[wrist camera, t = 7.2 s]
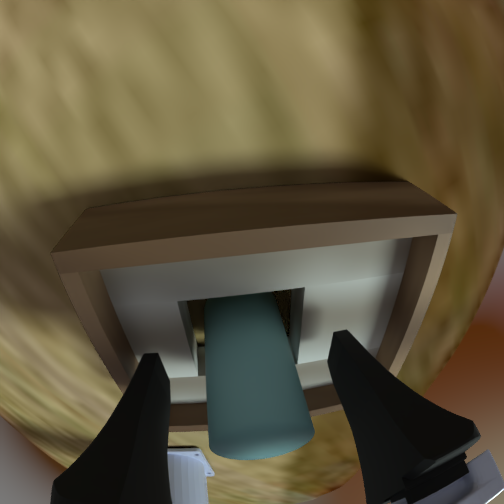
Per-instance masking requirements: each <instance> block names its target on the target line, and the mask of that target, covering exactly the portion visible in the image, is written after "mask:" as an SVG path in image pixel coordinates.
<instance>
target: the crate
mask: <svg viewBox="0 0 504 504" xmlns="http://www.w3.org/2000/svg"><path fill="white" fill-rule="evenodd" d="M456 217H457V213H455V212H454V211H453V210H451V209H450V208H448V207H447V206H445V205H444V204H442V203H441V202H440V201H438V200H437V199H435V198H434V197H432V196H431V195H429V194H427V193H426V192H424V191H423V190H421V189H420V188H418V187H417V186H415V185H413V184H412V183H410V182H344V183H319V184H299V185H283V186H269V187H256V188H244V189H232V190H222V191H212V192H202V193H193V194H185V195H176V196H168V197H161V198H153V199H146V200H139V201H132V202H125V203H119V204H113V205H106V206H100V207H94V208H89V209H86V210H85V211H84V212H83V213H82V214H81V216H80V217H79V218H78V219H77V220H76V222H75V223H74V224H73V225H72V226H71V228H70V229H69V230H68V231H67V233H66V234H65V235H64V236H63V238H62V239H61V240H60V241H59V243H58V244H57V245H56V247H55V248H54V249H53V251H52V252H51V256H52V258H53V261H54V263H55V266H56V268H57V271H58V273H59V276H60V278H61V280H62V283H63V285H64V287H65V290H66V292H67V294H68V296H69V298H70V300H71V303H72V305H73V307H74V309H75V311H76V313H77V315H78V317H79V319H80V321H81V323H82V325H83V327H84V329H85V331H86V333H87V334H88V336H89V338H90V340H91V342H92V344H93V345H94V347H95V349H96V351H97V353H98V354H99V356H100V358H101V359H102V361H103V363H104V365H105V366H106V368H107V369H108V371H109V373H110V374H111V376H112V378H113V379H114V381H115V382H116V384H117V385H118V387H119V388H120V390H121V391H122V393H123V394H124V392H125V390H126V388H127V387H128V385H129V383H130V381H131V379H132V377H133V375H134V373H135V371H136V368H137V366H138V364H139V362H140V360H141V357H142V355H143V354H144V353H159V356H160V358H161V361H162V363H163V365H164V368H165V370H166V373H167V375H168V377H169V379H170V390H171V407H170V420H169V432H190V431H208V417H207V397H206V372H205V346H203V347H198V346H197V342H196V338H195V334H194V330H193V326H192V322H191V318H190V313H189V309H188V305H187V300H197V299H207V298H217V297H226V296H236V295H245V294H254V293H262V292H271V291H279V290H287V289H292V292H291V312H290V329H289V336H288V337H287V338H288V342H289V345H290V348H291V352H292V355H293V359H294V362H295V365H296V369H297V372H298V376H299V379H300V382H301V386H302V389H303V393H304V396H305V400H306V403H307V407H308V410H309V413H310V417H312V416H317V415H321V414H326V413H330V412H334V411H338V410H342V409H343V407H342V404H341V402H340V399H339V397H338V395H337V392H336V390H335V387H334V385H333V382H332V379H331V375H330V371H329V368H328V364H327V360H328V355H329V350H330V346H331V341H332V336H333V332H335V331H341V330H346V329H347V330H348V331H349V332H350V333H351V334H352V335H353V336H354V337H355V338H356V339H357V340H358V341H359V342H360V343H361V344H362V345H363V347H364V348H365V349H366V350H367V351H368V352H369V353H370V354H371V355H372V356H373V357H374V358H375V359H376V360H378V361H379V362H380V363H381V364H382V365H383V366H384V367H385V368H386V369H387V370H388V371H389V372H390V373H392V374H393V375H394V376H395V377H396V376H397V374H398V372H399V370H400V368H401V366H402V364H403V362H404V360H405V358H406V356H407V354H408V352H409V350H410V348H411V346H412V344H413V341H414V339H415V337H416V335H417V333H418V330H419V328H420V326H421V323H422V321H423V318H424V316H425V314H426V311H427V309H428V306H429V303H430V301H431V298H432V295H433V293H434V290H435V287H436V284H437V282H438V279H439V276H440V273H441V270H442V267H443V264H444V260H445V257H446V254H447V251H448V247H449V244H450V240H451V237H452V233H453V229H454V225H455V221H456Z"/></svg>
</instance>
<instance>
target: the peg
mask: <svg viewBox="0 0 504 504" xmlns="http://www.w3.org/2000/svg"><path fill="white" fill-rule="evenodd" d="M204 333H205V372H206V397H207V417H208V434H209V447H210V449H211V451H212V452H213V453H215V454H217V455H219V456H222V457H225V458H230V459H237V460H255V459H265V458H270V457H275V456H279V455H283V454H286V453H288V452H291V451H294V450H296V449H298V448H300V447H302V446H303V445H305V444H306V443H307V442H309V441H310V440H311V439H312V437H313V436H314V433H315V431H314V427H313V424H312V420H311V417H310V413H309V410H308V407H307V403H306V400H305V396H304V393H303V389H302V386H301V382H300V379H299V376H298V372H297V369H296V365H295V362H294V359H293V355H292V352H291V348H290V345H289V342H288V338H287V335H286V332H285V328H284V325H283V322H282V318H281V315H280V311H279V308H278V305H277V301H276V299H275V297H274V295H273V294H272V292H262V293H254V294H245V295H236V296H226V297H217V298H208V300H207V302H206V304H205V308H204Z"/></svg>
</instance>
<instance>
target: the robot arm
mask: <svg viewBox="0 0 504 504" xmlns="http://www.w3.org/2000/svg"><path fill="white" fill-rule="evenodd" d="M327 364H328V368H329V371H330V375H331V379H332V382H333V385H334V387H335V390H336V392H337V395H338V397H339V399H340V402H341V404H342V407H343V409H344V411H345V414H346V416H347V419H348V421H349V424H350V427H351V429H352V433H353V436H354V440H355V444H356V448H357V452H358V456H359V460H360V465H361V469H362V475H363V481H364V487H365V494H366V503H367V504H387V503H390V502H391V504H487V503H488V502H489V501H490V500H492V499H493V498H494V497H495V496H497V495H498V494H499V493H500V492H502V491H503V490H504V481H503V478H502V476H501V474H500V472H499V470H498V467H497V465H496V463H495V461H494V459H493V457H492V455H491V453H490V451H489V450H486V451H485V452H483V453H482V454H480V455H479V456H477V457H476V458H474V459H473V460H471V461H470V462H468V463H467V464H466V463H465V461H464V460H465V459H466V457H467V456H466V454H465V451H466V450H468V449H469V448H470V447H471V446H472V445H474V444H475V443H476V442H477V441H478V440H479V439H480V437H481V435H480V433H479V431H478V429H477V427H476V426H475V424H474V422H473V421H472V420H469V419H467V418H464V417H461V416H459V415H456V414H454V413H451V412H449V411H447V410H445V409H443V408H441V407H439V406H437V405H436V404H434V403H432V402H430V401H429V400H427V399H425V398H424V397H422V396H421V395H419V394H418V393H416V392H415V391H413V390H412V389H410V388H409V387H408V386H406V385H405V384H404V383H402V382H401V381H400V380H399V379H397V378H396V377H395V376H394V375H393V374H392V373H390V372H389V371H388V370H387V369H386V368H385V367H384V366H383V365H382V364H381V363H380V362H379V361H378V360H376V359H375V358H374V357H373V356H372V355H371V354H370V353H369V352H368V351H367V350H366V349H365V348H364V347H363V345H362V344H361V343H360V342H359V341H358V340H357V339H356V338H355V337H354V336H353V335H352V334H351V333H350V332H349V331H348V330H347V329H346V330H341V331H335V332H333V336H332V341H331V346H330V350H329V355H328V360H327ZM170 407H171V390H170V379H169V377H168V375H167V373H166V370H165V368H164V365H163V363H162V361H161V358H160V356H159V353H144V354H143V355H142V357H141V360H140V362H139V364H138V366H137V368H136V371H135V373H134V375H133V377H132V379H131V381H130V383H129V385H128V387H127V388H126V390H125V392H124V394H123V396H122V398H121V400H120V401H119V403H118V405H117V407H116V408H115V410H114V412H113V413H112V415H111V417H110V418H109V420H108V421H107V423H106V424H105V426H104V427H103V428H102V430H101V431H100V433H99V434H98V435H97V437H96V438H95V439H94V440H93V442H92V443H91V444H90V445H89V447H88V448H87V449H86V450H85V451H84V452H83V453H82V454H81V456H80V457H79V458H78V459H77V460H76V461H75V462H74V463H73V464H72V465H71V466H70V467H69V468H68V469H66V470H65V471H64V472H63V473H62V474H61V475H60V476H59V477H57V478H56V479H55V480H54V482H53V486H52V493H51V503H50V504H208V493H207V480H206V476H214V471H213V470H212V468H211V466H210V465H209V463H208V461H207V460H206V458H205V456H204V454H203V453H202V451H201V450H200V449H199V448H168V433H169V420H170Z"/></svg>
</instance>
